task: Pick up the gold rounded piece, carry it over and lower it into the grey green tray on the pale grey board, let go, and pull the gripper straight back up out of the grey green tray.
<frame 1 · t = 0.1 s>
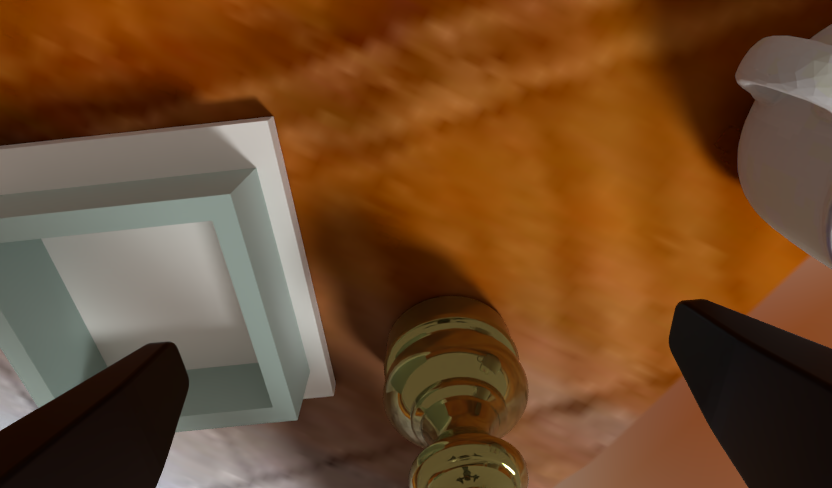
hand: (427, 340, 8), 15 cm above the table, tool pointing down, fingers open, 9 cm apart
gold rounded piece: (447, 343, 27), on the table
grey green tray: (178, 283, 24), on the table
teacup: (791, 103, 21), on the table
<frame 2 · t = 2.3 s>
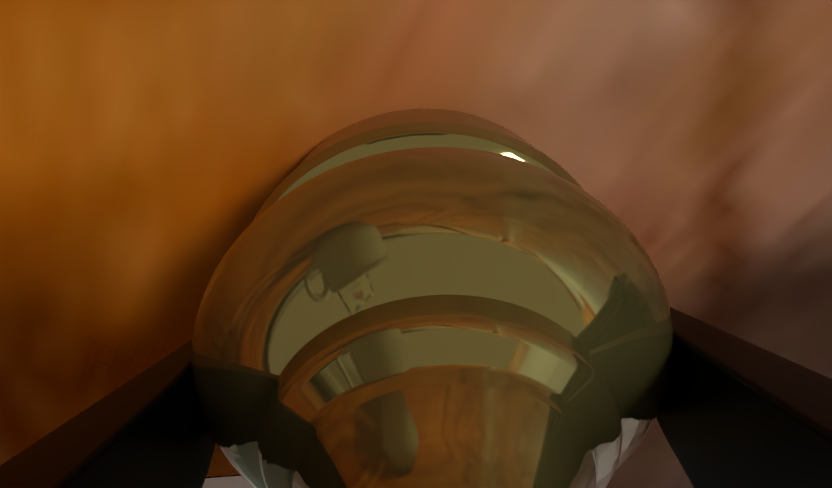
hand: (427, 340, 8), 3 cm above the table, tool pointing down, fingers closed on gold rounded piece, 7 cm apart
gold rounded piece: (422, 257, 11), on the table, touching gripper
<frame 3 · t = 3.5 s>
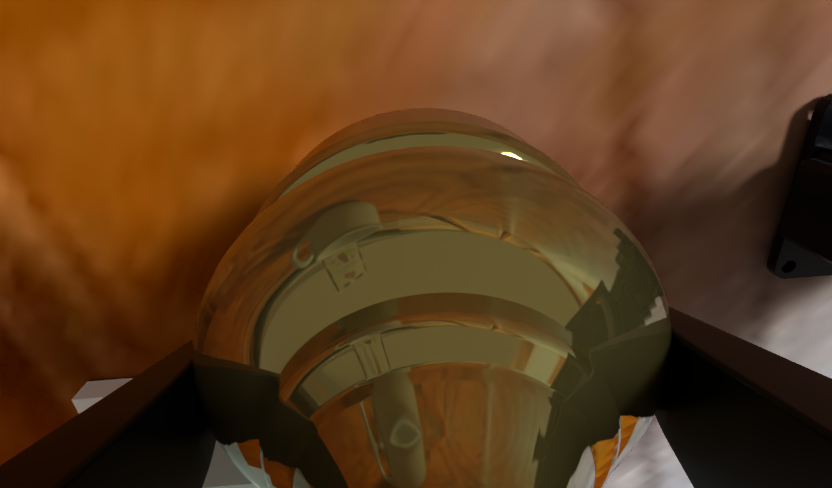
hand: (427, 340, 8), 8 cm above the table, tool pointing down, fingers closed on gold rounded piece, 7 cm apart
gold rounded piece: (421, 256, 11), point 5 cm above the table, touching gripper
grey green tray: (312, 480, 21), on the table
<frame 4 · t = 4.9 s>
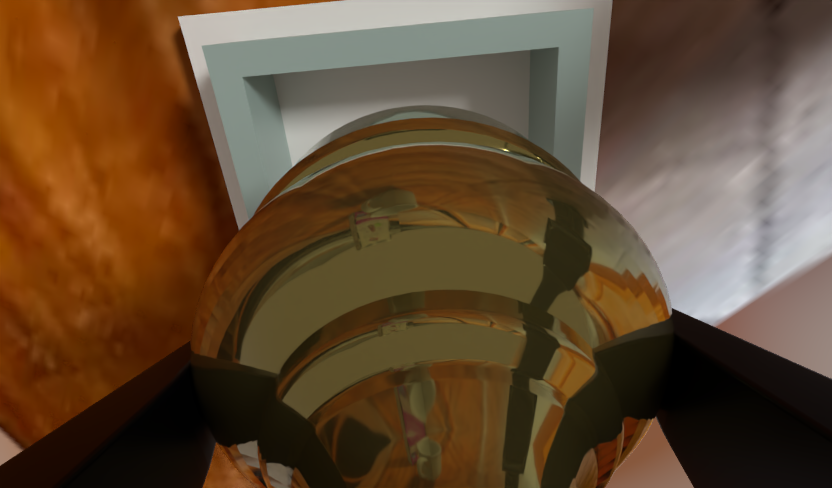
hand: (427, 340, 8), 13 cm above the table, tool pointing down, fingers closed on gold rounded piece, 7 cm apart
gold rounded piece: (422, 254, 11), point 10 cm above the table, touching gripper
grey green tray: (411, 172, 20), on the table
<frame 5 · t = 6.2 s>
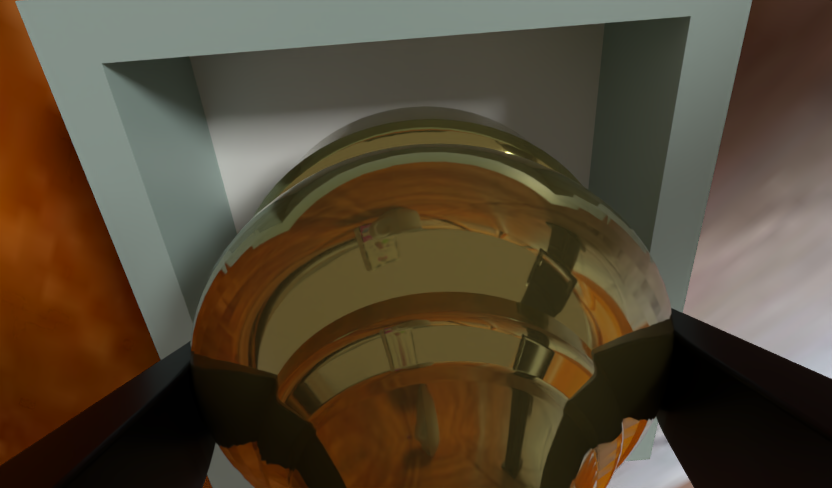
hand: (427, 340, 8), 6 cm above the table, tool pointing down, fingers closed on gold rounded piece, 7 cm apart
gold rounded piece: (422, 255, 11), point 3 cm above the table, touching gripper
grey green tray: (411, 214, 14), on the table
when the fingers open (5 cm above the table, at t = 7.4 s): gold rounded piece drops 1 cm, resting on grey green tray.
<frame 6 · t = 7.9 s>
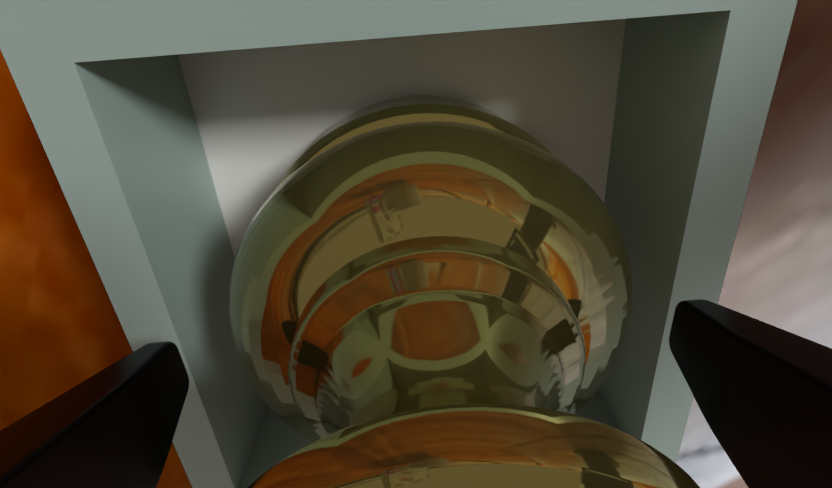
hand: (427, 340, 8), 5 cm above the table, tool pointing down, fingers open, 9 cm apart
gold rounded piece: (421, 230, 12), point 1 cm above the table, touching grey green tray
grey green tray: (415, 222, 13), on the table
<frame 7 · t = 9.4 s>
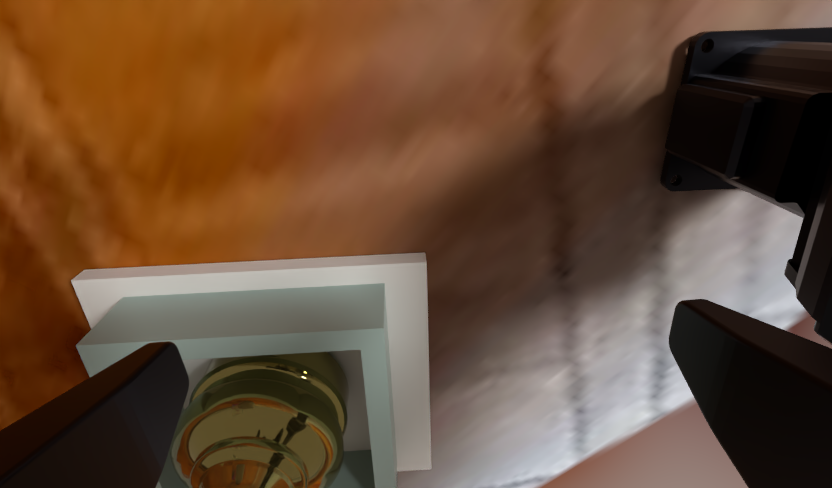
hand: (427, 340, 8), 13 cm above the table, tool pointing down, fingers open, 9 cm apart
gold rounded piece: (279, 384, 24), point 1 cm above the table, touching grey green tray
grey green tray: (280, 374, 24), on the table
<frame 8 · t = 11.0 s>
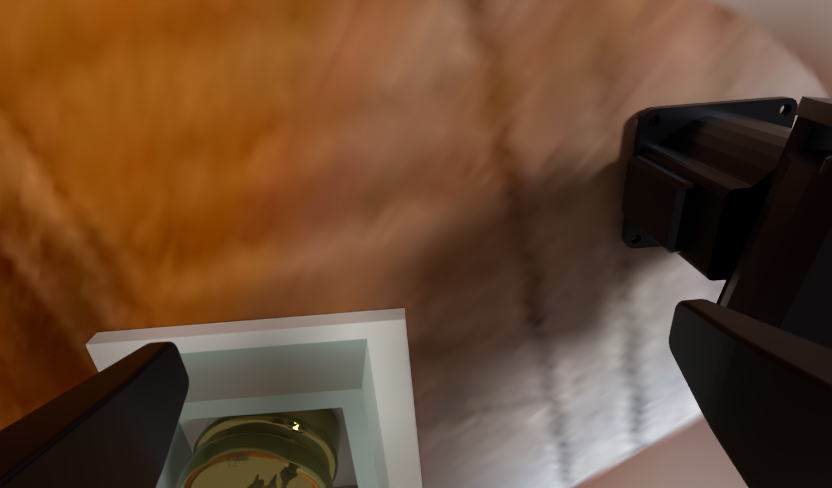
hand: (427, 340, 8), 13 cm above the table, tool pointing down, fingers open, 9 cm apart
gold rounded piece: (277, 428, 26), point 1 cm above the table, touching grey green tray
grey green tray: (278, 418, 26), on the table
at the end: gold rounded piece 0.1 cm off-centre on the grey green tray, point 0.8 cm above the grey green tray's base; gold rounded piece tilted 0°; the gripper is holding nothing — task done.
